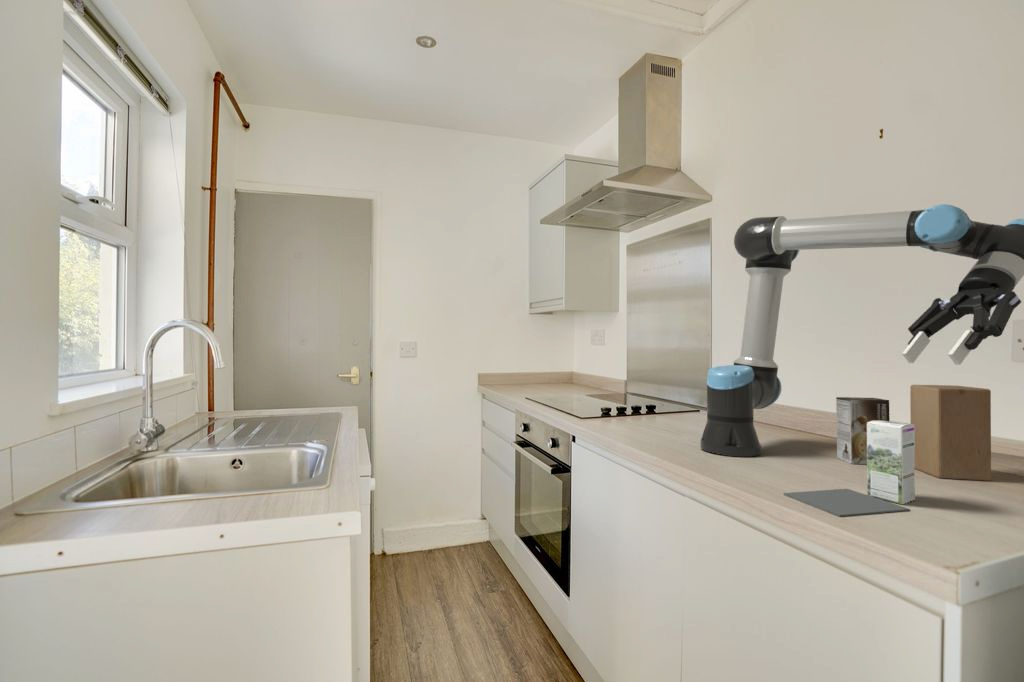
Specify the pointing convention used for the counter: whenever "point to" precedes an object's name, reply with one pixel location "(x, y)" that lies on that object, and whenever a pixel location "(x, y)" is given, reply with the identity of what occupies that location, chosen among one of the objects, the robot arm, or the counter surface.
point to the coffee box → (857, 425)
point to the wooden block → (952, 431)
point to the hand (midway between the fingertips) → (929, 358)
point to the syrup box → (891, 461)
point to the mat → (845, 502)
